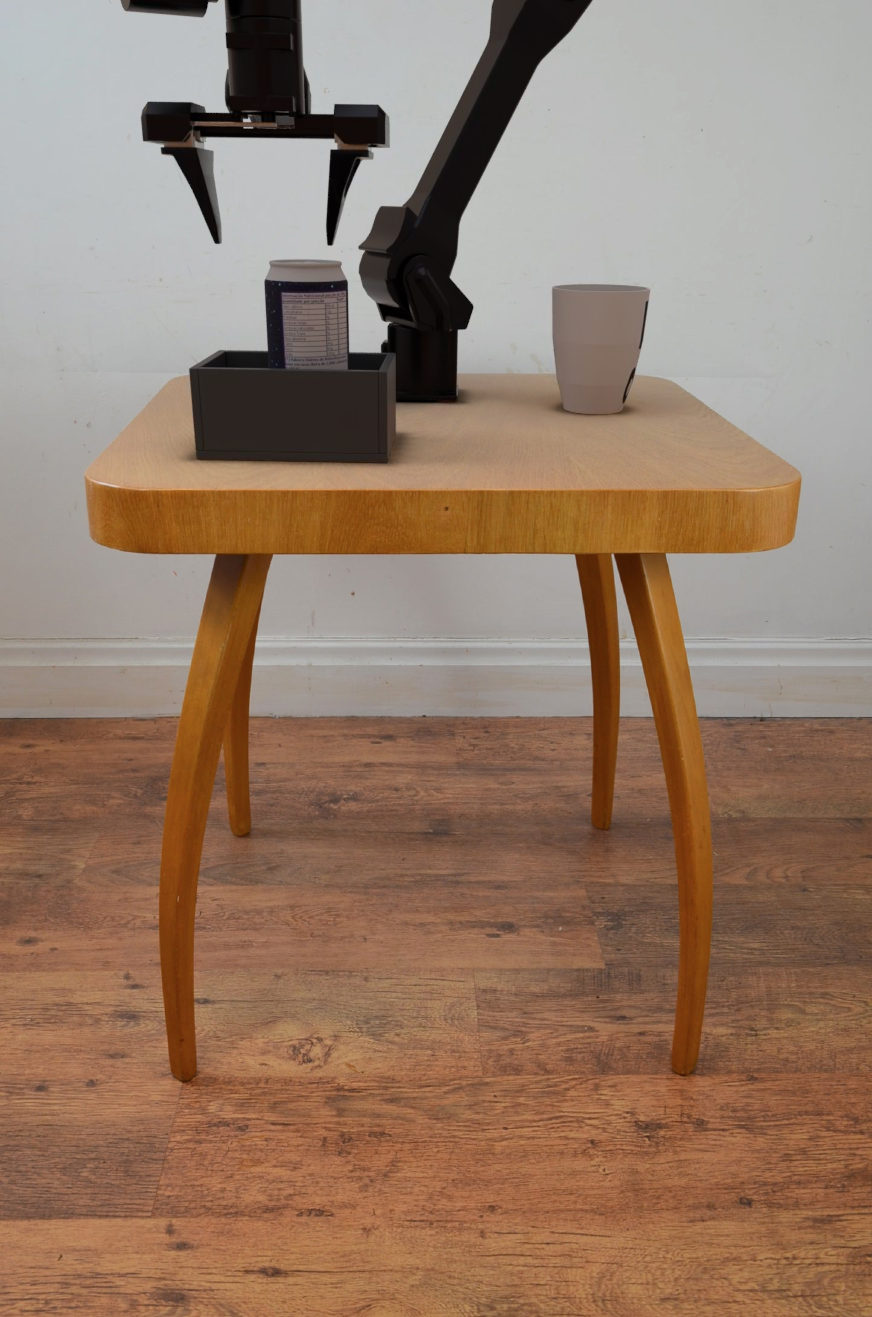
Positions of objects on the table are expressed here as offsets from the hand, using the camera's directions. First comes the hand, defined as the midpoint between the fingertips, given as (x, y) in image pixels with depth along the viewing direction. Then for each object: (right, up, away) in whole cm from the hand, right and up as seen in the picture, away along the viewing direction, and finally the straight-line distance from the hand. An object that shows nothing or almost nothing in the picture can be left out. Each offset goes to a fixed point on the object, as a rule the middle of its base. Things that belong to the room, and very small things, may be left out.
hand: (274, 244), depth 85 cm
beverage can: (+4, -18, -10) cm, 21 cm away
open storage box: (+3, -18, -9) cm, 21 cm away
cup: (+27, -12, +6) cm, 30 cm away
